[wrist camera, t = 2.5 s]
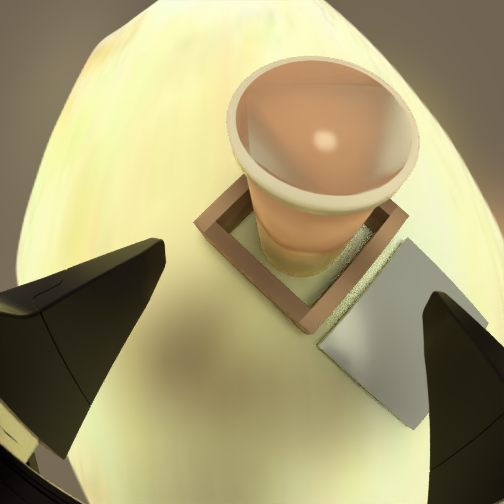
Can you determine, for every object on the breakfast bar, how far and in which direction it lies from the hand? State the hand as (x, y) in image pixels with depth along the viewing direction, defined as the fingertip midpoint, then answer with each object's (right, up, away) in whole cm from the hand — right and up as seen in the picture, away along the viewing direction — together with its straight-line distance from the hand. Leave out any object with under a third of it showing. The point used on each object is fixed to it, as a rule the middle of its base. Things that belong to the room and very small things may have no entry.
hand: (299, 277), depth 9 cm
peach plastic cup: (+2, +3, +13) cm, 13 cm away
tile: (+10, -5, +10) cm, 15 cm away
